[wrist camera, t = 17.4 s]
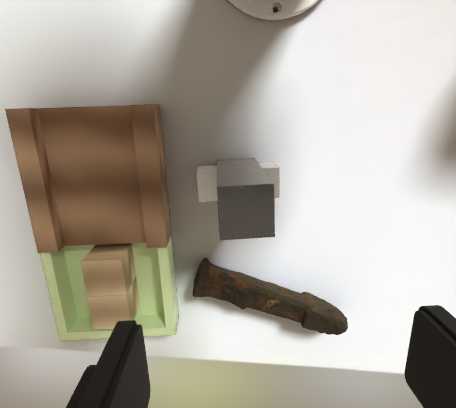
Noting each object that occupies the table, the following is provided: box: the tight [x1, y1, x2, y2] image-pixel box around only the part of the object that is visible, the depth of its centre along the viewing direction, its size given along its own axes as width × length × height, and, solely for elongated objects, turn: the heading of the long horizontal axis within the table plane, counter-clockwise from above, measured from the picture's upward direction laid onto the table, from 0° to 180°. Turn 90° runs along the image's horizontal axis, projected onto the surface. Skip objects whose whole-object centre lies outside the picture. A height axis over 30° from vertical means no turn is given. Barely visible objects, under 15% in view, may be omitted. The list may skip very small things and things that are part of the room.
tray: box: [40, 237, 179, 341], centre depth 35 cm, size 11×13×3 cm
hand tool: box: [193, 258, 348, 335], centre depth 36 cm, size 19×4×5 cm, turn 68°
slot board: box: [5, 104, 171, 253], centre depth 31 cm, size 14×13×4 cm
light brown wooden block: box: [87, 276, 140, 330], centre depth 35 cm, size 4×4×4 cm
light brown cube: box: [81, 243, 136, 297], centre depth 33 cm, size 4×4×4 cm
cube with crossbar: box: [196, 158, 279, 240], centre depth 28 cm, size 4×8×12 cm, turn 93°
